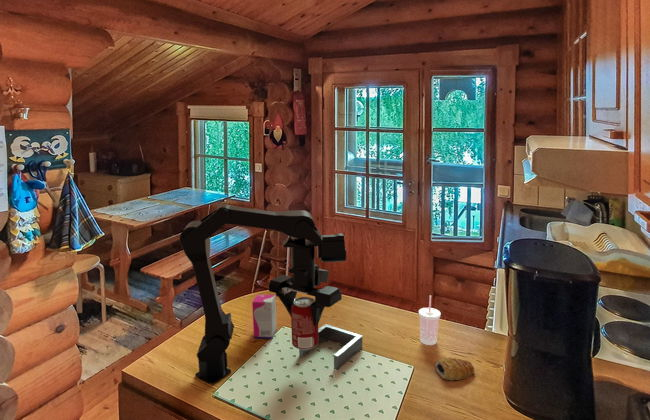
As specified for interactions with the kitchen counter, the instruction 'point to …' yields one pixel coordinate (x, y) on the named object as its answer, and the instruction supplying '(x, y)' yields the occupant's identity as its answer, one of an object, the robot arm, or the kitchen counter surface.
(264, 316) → the supplement box
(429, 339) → the beverage cup
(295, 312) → the soda can
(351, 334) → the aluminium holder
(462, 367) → the pastry
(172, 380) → the kitchen counter surface
